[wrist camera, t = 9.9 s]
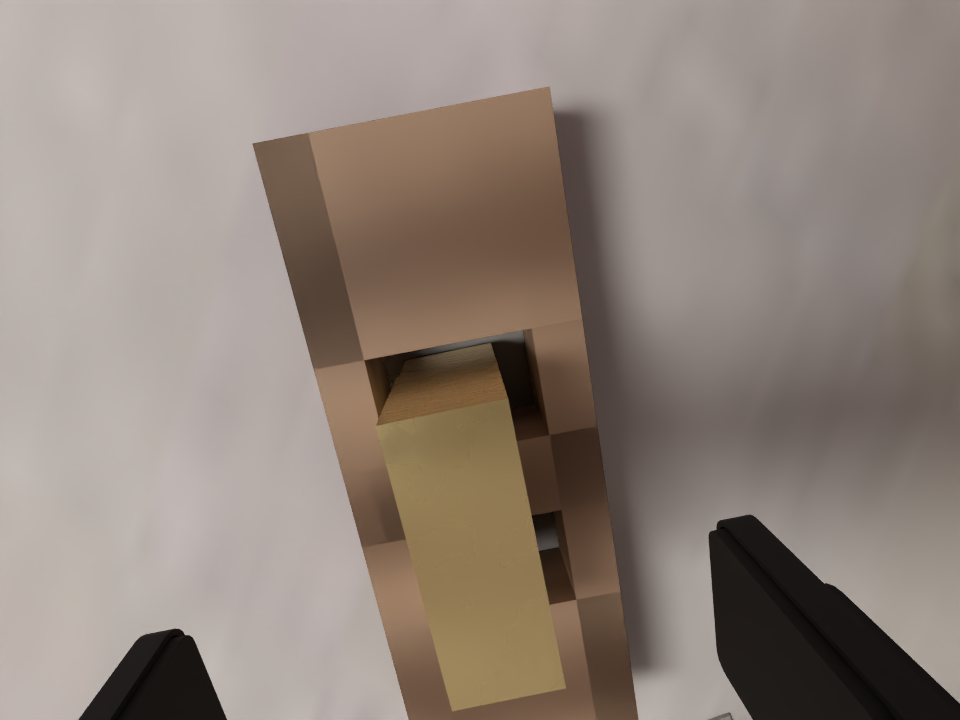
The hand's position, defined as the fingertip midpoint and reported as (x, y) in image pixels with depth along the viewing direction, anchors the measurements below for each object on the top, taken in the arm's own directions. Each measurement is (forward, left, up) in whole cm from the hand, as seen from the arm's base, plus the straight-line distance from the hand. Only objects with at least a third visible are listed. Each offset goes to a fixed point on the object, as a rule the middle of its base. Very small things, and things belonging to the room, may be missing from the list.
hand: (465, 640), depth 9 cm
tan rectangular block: (+1, 0, -10) cm, 10 cm away
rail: (+1, 0, -10) cm, 10 cm away
